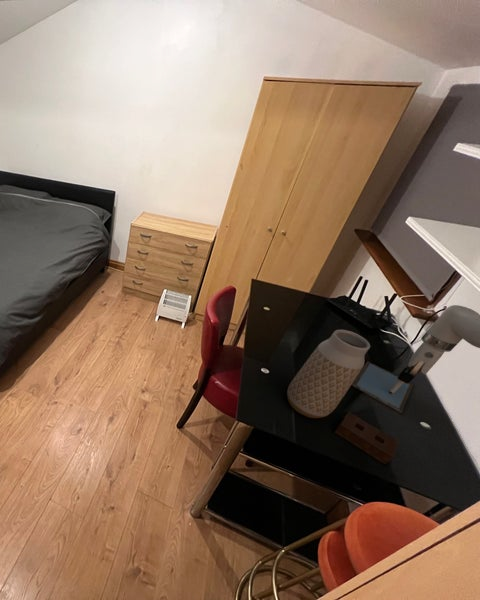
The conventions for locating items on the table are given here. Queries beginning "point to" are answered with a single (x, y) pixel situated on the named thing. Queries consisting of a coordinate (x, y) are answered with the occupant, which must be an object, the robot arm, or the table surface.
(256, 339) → the table surface
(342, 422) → the holder
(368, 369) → the tablet
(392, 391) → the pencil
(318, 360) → the vase
